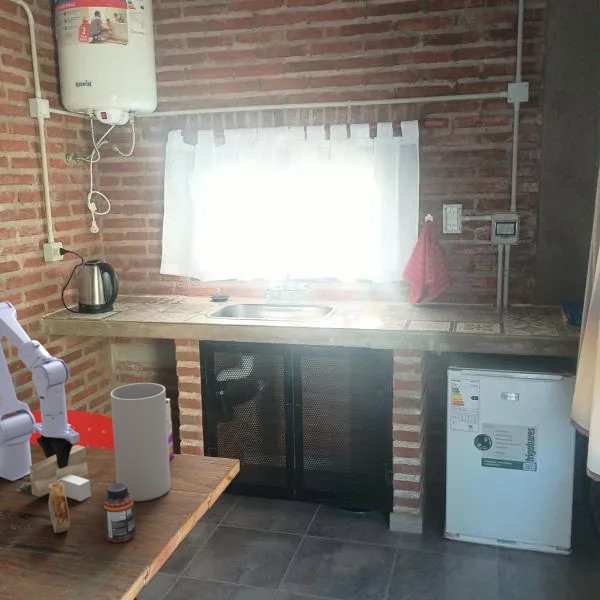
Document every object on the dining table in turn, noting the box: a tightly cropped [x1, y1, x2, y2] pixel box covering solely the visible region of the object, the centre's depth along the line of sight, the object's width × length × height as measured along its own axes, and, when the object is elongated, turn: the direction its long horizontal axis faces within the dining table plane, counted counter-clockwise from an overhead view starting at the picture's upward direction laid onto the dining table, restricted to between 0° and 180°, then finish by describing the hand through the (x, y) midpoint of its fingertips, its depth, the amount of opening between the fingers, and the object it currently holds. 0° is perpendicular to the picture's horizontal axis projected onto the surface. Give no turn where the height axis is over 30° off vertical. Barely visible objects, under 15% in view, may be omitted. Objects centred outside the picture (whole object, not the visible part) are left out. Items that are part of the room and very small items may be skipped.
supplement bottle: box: [103, 482, 136, 544], centre depth 139 cm, size 6×6×11 cm
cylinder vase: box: [110, 382, 172, 502], centre depth 159 cm, size 12×12×25 cm
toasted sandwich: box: [48, 482, 71, 534], centre depth 143 cm, size 10×4×10 cm, turn 25°
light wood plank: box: [29, 444, 89, 498], centre depth 161 cm, size 3×14×7 cm, turn 149°
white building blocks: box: [57, 474, 92, 502], centre depth 161 cm, size 18×3×4 cm, turn 58°
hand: (58, 465), depth 161 cm, fingers closed on light wood plank, 3 cm apart
